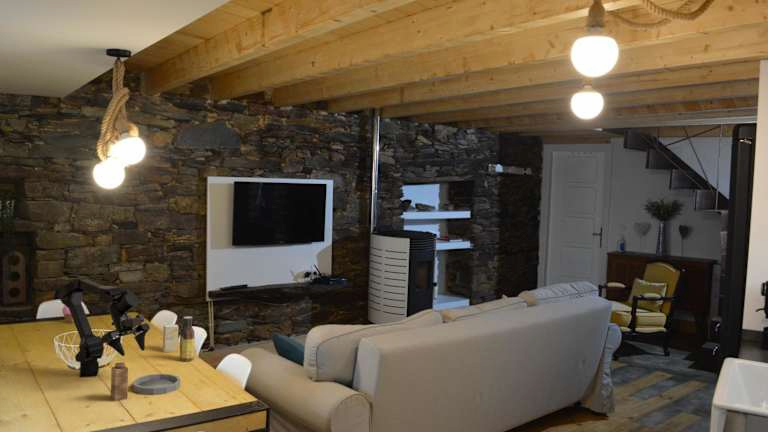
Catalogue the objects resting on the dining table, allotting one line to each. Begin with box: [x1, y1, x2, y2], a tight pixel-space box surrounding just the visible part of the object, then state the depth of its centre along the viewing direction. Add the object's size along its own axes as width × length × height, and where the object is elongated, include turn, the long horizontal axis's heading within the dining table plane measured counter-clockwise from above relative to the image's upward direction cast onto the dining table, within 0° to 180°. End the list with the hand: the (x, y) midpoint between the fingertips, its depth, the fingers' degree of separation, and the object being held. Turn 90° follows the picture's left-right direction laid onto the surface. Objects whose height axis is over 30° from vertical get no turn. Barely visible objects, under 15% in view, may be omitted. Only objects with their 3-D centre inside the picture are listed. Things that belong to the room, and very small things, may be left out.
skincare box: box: [162, 323, 179, 353], centre depth 282 cm, size 6×4×12 cm
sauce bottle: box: [179, 315, 195, 362], centre depth 269 cm, size 6×6×20 cm
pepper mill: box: [110, 362, 129, 402], centre depth 220 cm, size 4×4×13 cm
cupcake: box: [61, 305, 75, 324], centre depth 326 cm, size 9×9×10 cm
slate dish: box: [132, 373, 181, 396], centre depth 234 cm, size 17×17×2 cm
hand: (133, 353), depth 232 cm, fingers open, 9 cm apart
